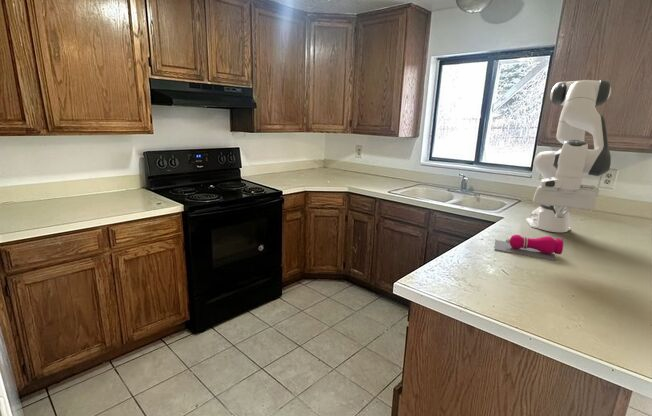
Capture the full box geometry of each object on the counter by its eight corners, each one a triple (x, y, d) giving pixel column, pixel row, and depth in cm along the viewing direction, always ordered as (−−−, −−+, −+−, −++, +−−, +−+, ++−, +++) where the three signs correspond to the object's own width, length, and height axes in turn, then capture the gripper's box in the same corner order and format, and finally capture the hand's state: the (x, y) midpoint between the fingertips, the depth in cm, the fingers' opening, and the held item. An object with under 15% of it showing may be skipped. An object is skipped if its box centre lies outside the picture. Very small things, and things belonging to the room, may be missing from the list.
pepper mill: (557, 251, 145) (504, 245, 152) (560, 235, 143) (506, 229, 150) (561, 258, 139) (505, 251, 146) (564, 241, 136) (507, 235, 144)
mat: (552, 250, 148) (552, 249, 148) (556, 261, 137) (556, 260, 137) (495, 241, 157) (495, 239, 157) (494, 250, 146) (494, 249, 146)
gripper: (598, 185, 133) (589, 219, 137) (536, 179, 142) (530, 212, 146) (602, 187, 128) (593, 223, 131) (537, 181, 137) (531, 215, 140)
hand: (559, 217), depth 139 cm, fingers closed
